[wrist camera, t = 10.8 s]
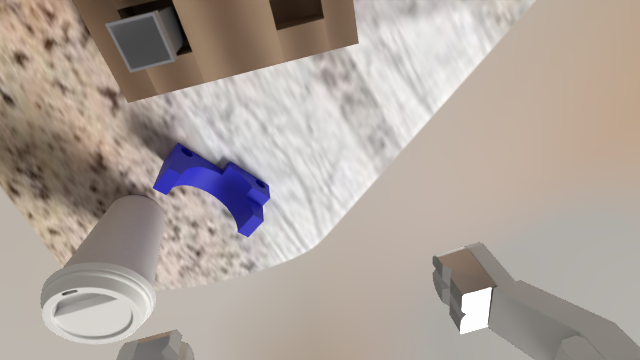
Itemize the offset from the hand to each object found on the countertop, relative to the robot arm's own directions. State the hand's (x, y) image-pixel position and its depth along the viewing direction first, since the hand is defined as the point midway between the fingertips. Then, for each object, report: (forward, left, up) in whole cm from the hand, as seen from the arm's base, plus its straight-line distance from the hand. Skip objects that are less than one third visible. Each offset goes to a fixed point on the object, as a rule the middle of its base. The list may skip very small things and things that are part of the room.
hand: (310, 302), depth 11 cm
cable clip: (+9, +11, -31) cm, 35 cm away
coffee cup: (+21, +14, -31) cm, 40 cm away
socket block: (+2, -6, -31) cm, 32 cm away
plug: (+8, -6, -30) cm, 31 cm away
